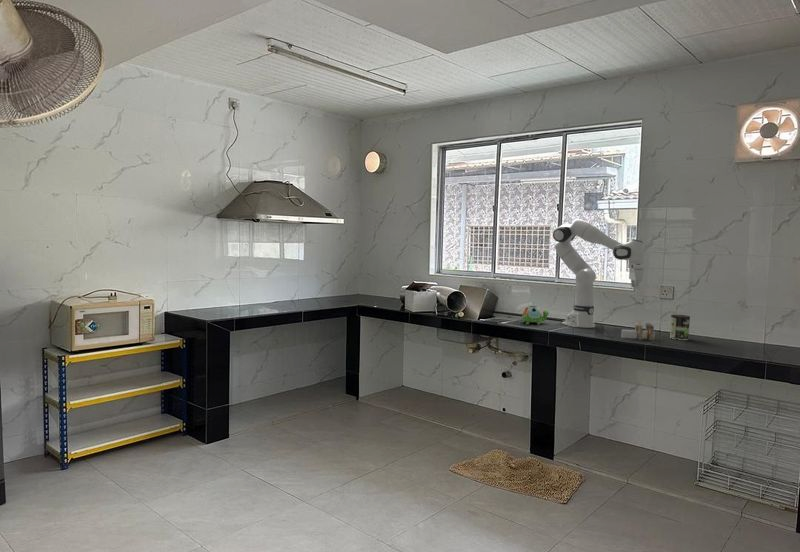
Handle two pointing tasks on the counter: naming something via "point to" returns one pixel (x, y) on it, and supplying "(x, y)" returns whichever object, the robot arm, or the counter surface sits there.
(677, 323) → the coffee can
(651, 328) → the collar
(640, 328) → the collar
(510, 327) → the counter surface
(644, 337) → the tube
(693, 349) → the counter surface
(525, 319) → the turtle holder
